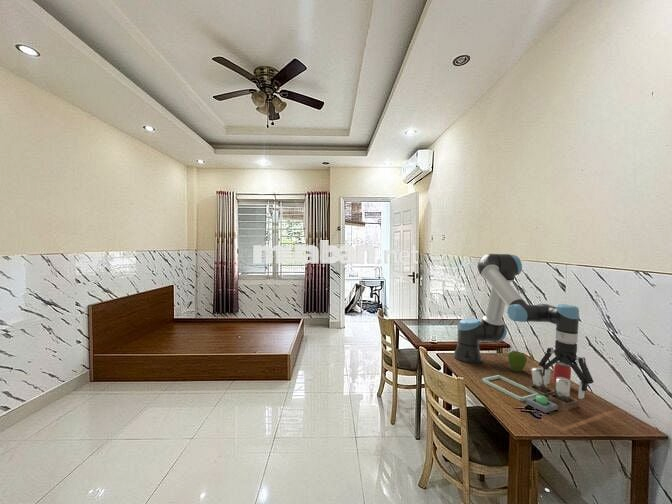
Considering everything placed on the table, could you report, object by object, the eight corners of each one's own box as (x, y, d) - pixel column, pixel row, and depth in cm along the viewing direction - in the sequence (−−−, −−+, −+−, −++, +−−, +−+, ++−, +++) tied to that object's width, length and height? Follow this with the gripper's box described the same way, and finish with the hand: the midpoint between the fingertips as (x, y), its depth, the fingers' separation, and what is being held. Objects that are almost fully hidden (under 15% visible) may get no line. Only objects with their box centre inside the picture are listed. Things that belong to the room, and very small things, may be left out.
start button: (533, 402, 130) (534, 395, 130) (539, 401, 132) (540, 394, 132) (543, 407, 127) (543, 400, 127) (549, 405, 128) (549, 398, 128)
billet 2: (552, 400, 135) (553, 377, 134) (558, 398, 137) (560, 376, 136) (564, 406, 130) (566, 382, 130) (571, 404, 132) (573, 381, 132)
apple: (529, 374, 165) (530, 353, 165) (517, 375, 163) (518, 354, 162) (515, 368, 173) (517, 347, 173) (503, 369, 171) (504, 348, 171)
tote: (481, 383, 152) (481, 378, 152) (498, 379, 157) (499, 374, 157) (521, 404, 133) (521, 398, 133) (539, 399, 138) (540, 393, 138)
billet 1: (532, 391, 142) (528, 368, 144) (539, 389, 145) (535, 367, 147) (543, 393, 138) (538, 370, 140) (550, 391, 140) (545, 368, 142)
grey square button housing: (525, 405, 131) (526, 399, 131) (537, 402, 135) (538, 395, 135) (545, 415, 124) (545, 408, 124) (557, 411, 128) (557, 404, 127)
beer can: (572, 392, 146) (574, 367, 146) (557, 390, 148) (558, 365, 147) (565, 385, 153) (566, 361, 152) (550, 384, 154) (552, 360, 154)
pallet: (524, 393, 143) (524, 386, 143) (538, 389, 147) (538, 382, 147) (566, 413, 127) (567, 405, 127) (580, 408, 131) (581, 401, 131)
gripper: (531, 334, 142) (529, 379, 143) (595, 352, 119) (592, 406, 120) (542, 332, 145) (539, 377, 146) (606, 350, 123) (602, 402, 123)
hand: (563, 390), depth 133 cm, fingers open, 13 cm apart
